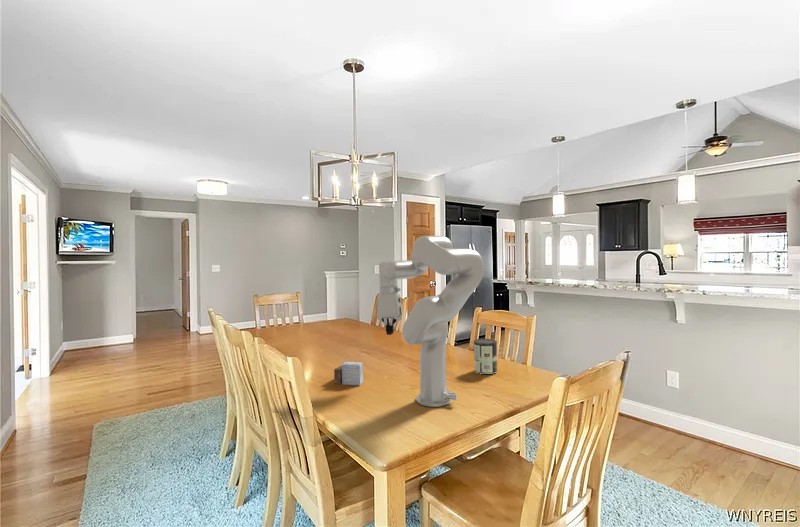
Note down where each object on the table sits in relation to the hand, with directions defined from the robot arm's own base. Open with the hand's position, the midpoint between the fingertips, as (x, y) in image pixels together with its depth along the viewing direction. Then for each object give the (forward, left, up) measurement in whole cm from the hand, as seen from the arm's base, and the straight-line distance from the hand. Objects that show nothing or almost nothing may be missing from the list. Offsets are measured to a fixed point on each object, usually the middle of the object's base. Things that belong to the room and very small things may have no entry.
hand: (389, 334), depth 165 cm
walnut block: (+20, +4, -21) cm, 29 cm away
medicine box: (+14, +7, -21) cm, 26 cm away
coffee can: (-34, -29, -21) cm, 49 cm away
